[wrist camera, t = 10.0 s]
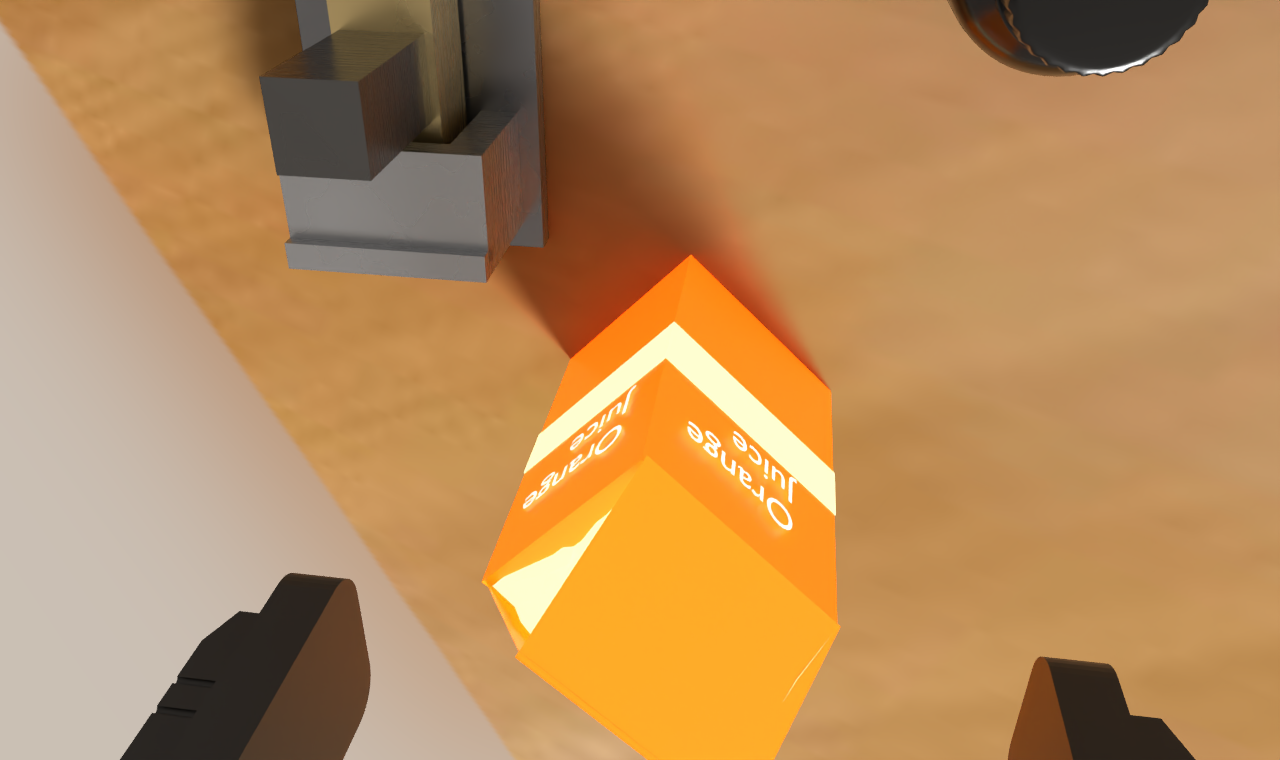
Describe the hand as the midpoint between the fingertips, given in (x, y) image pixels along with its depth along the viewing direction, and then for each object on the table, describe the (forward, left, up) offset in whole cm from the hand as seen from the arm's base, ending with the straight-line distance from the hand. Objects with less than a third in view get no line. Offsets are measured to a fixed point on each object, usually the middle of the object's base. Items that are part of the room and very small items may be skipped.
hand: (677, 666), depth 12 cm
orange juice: (+14, -2, -30) cm, 33 cm away
